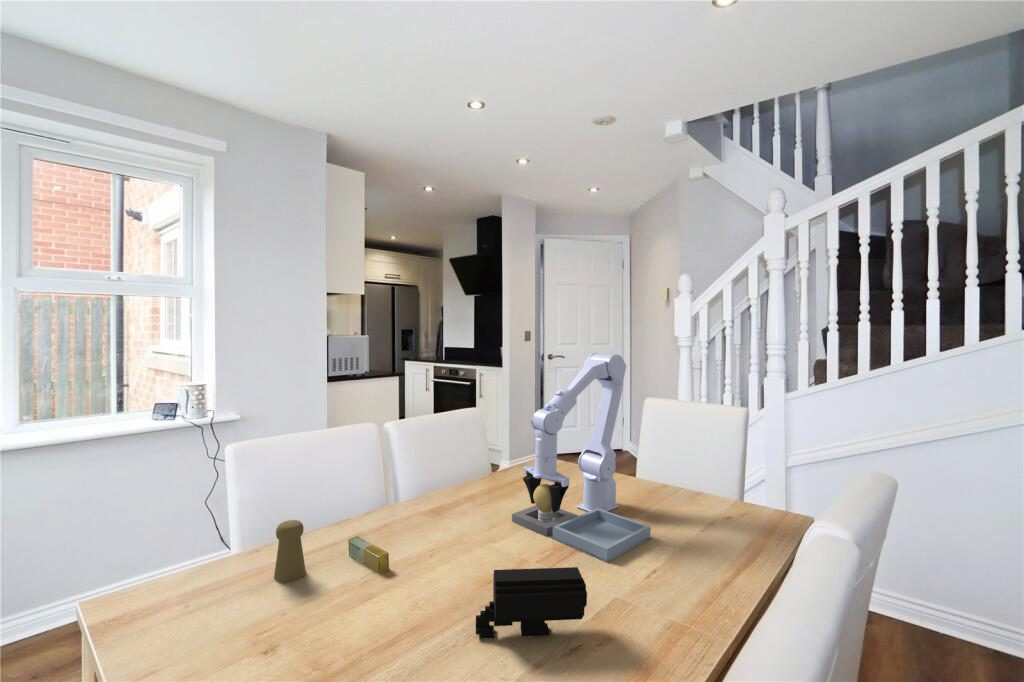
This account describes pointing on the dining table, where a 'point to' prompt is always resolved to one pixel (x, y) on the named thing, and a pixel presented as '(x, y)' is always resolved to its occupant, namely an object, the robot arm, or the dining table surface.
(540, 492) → the light bulb
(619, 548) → the parts tray
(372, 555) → the medication box
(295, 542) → the cork
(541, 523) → the socket block
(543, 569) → the security camera
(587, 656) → the dining table surface
